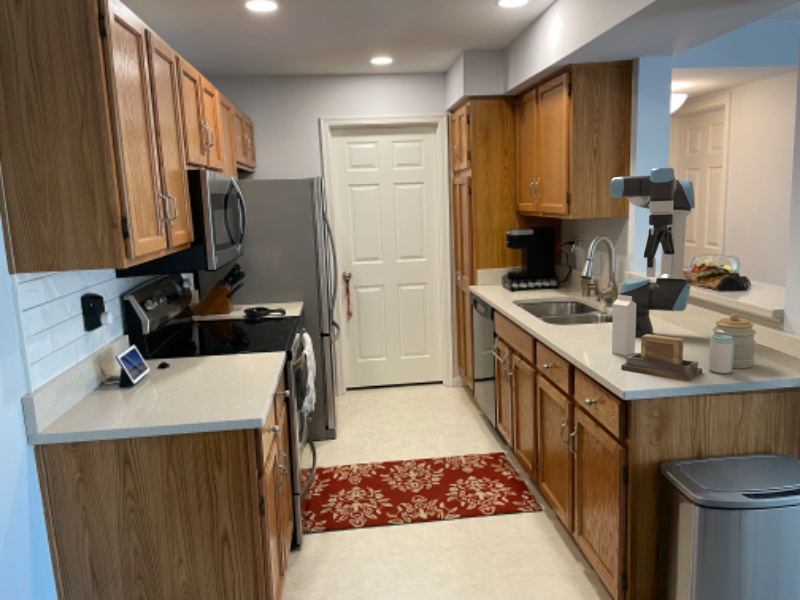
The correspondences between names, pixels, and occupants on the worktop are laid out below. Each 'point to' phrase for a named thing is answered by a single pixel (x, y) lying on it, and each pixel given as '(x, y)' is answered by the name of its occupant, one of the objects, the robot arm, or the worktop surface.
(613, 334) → the milk
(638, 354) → the wooden tray
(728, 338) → the can
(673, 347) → the tan wooden block
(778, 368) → the worktop surface
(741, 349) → the jar
